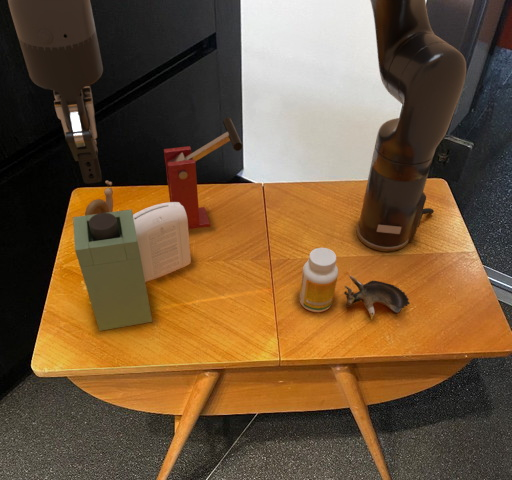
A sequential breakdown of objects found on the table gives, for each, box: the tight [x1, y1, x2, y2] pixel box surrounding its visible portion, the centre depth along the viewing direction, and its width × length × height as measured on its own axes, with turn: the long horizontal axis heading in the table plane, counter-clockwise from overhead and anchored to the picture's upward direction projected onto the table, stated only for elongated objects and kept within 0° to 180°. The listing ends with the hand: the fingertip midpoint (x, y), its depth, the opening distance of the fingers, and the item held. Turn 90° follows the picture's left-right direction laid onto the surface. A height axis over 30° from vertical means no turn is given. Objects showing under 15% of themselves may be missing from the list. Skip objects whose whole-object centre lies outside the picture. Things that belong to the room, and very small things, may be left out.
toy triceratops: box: [344, 274, 411, 320], centre depth 85 cm, size 8×7×9 cm
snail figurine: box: [84, 179, 114, 216], centre depth 90 cm, size 5×6×12 cm
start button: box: [89, 213, 120, 241], centre depth 73 cm, size 4×4×3 cm
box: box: [72, 209, 153, 332], centre depth 79 cm, size 8×7×16 cm
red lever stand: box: [163, 145, 211, 230], centre depth 94 cm, size 8×6×14 cm
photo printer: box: [133, 201, 192, 283], centre depth 87 cm, size 10×4×12 cm, turn 123°
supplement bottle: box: [298, 247, 339, 313], centre depth 84 cm, size 5×5×10 cm
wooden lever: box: [169, 116, 243, 162], centre depth 89 cm, size 12×8×2 cm, turn 104°
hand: (93, 179), depth 67 cm, fingers closed
